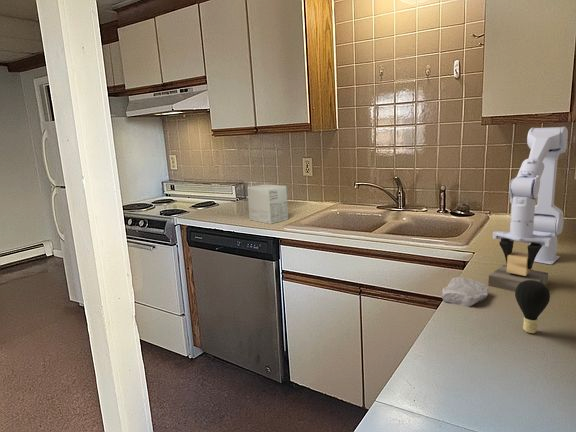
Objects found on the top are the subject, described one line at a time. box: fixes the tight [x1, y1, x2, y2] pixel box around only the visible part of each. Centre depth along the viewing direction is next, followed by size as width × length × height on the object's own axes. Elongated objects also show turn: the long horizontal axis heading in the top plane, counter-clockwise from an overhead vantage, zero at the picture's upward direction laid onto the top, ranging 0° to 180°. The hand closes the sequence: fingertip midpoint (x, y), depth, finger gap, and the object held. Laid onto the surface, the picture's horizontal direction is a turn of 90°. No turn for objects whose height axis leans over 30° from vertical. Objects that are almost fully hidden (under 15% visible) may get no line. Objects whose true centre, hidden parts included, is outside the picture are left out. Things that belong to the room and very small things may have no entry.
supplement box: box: [247, 183, 289, 225], centre depth 220 cm, size 17×13×18 cm
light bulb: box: [514, 280, 551, 334], centre depth 93 cm, size 7×7×12 cm
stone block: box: [441, 276, 489, 308], centre depth 113 cm, size 12×5×10 cm
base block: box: [487, 264, 549, 292], centre depth 120 cm, size 12×12×3 cm
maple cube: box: [506, 250, 532, 276], centre depth 119 cm, size 5×5×5 cm
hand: (519, 266), depth 120 cm, fingers closed on maple cube, 5 cm apart
